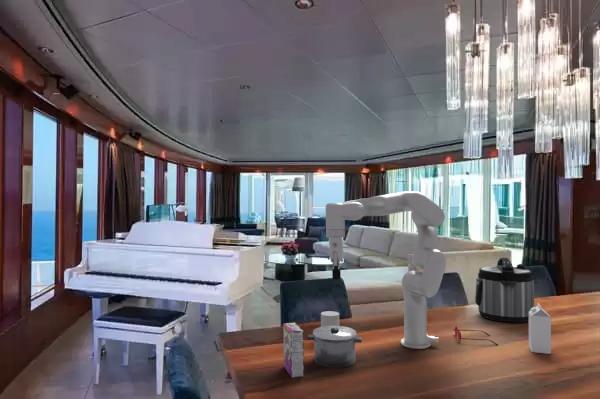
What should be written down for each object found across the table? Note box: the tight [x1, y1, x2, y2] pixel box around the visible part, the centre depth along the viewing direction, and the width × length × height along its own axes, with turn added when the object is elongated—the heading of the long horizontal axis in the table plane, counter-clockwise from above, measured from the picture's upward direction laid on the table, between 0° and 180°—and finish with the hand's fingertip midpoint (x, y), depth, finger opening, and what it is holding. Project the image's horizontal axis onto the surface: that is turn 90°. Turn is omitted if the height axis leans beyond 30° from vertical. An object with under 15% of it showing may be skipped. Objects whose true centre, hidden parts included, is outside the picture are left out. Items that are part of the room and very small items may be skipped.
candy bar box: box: [282, 322, 305, 379], centre depth 160 cm, size 11×5×16 cm, turn 17°
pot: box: [307, 334, 363, 369], centre depth 173 cm, size 21×17×10 cm
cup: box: [320, 310, 340, 327], centre depth 196 cm, size 8×8×12 cm
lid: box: [312, 325, 358, 341], centre depth 172 cm, size 17×17×2 cm
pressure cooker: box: [474, 257, 535, 323], centre depth 235 cm, size 30×28×32 cm
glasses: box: [452, 325, 499, 346], centre depth 197 cm, size 14×16×5 cm
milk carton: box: [528, 302, 552, 355], centre depth 183 cm, size 7×7×19 cm
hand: (336, 278), depth 177 cm, fingers closed
